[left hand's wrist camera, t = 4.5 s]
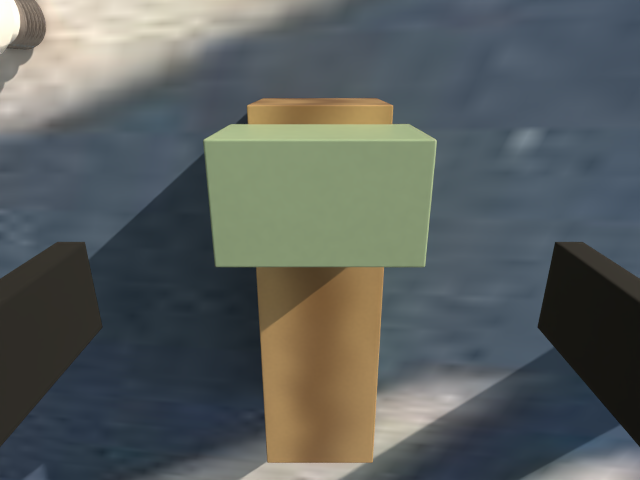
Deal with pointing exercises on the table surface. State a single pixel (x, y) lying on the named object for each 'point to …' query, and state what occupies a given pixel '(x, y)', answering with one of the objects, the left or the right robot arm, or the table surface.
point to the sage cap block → (319, 195)
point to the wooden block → (319, 327)
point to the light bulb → (20, 24)
